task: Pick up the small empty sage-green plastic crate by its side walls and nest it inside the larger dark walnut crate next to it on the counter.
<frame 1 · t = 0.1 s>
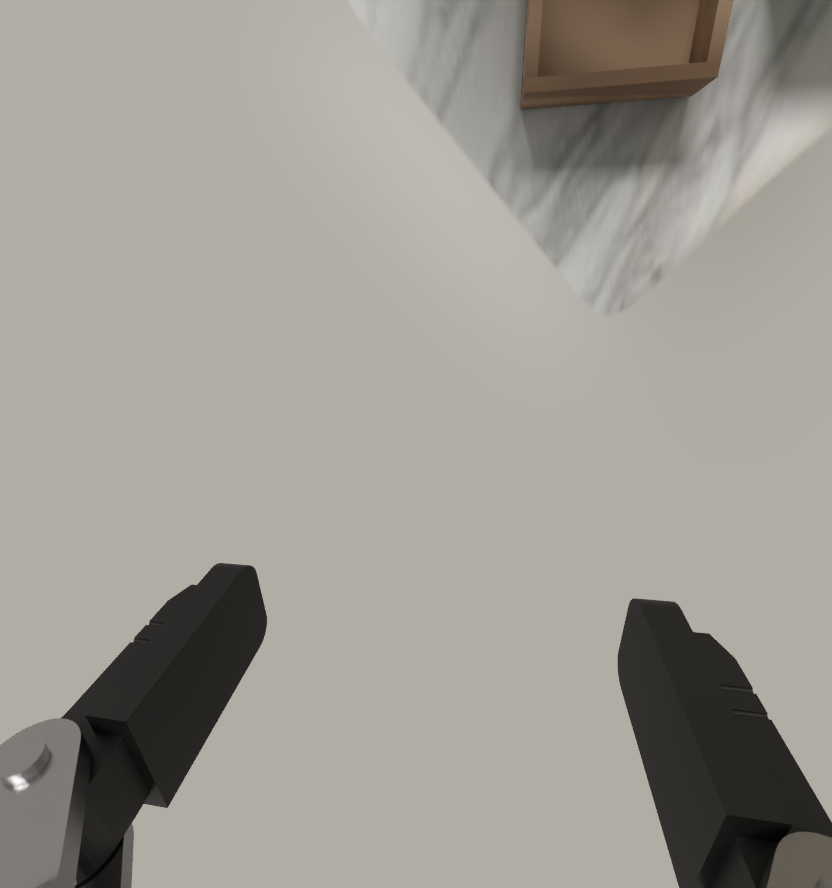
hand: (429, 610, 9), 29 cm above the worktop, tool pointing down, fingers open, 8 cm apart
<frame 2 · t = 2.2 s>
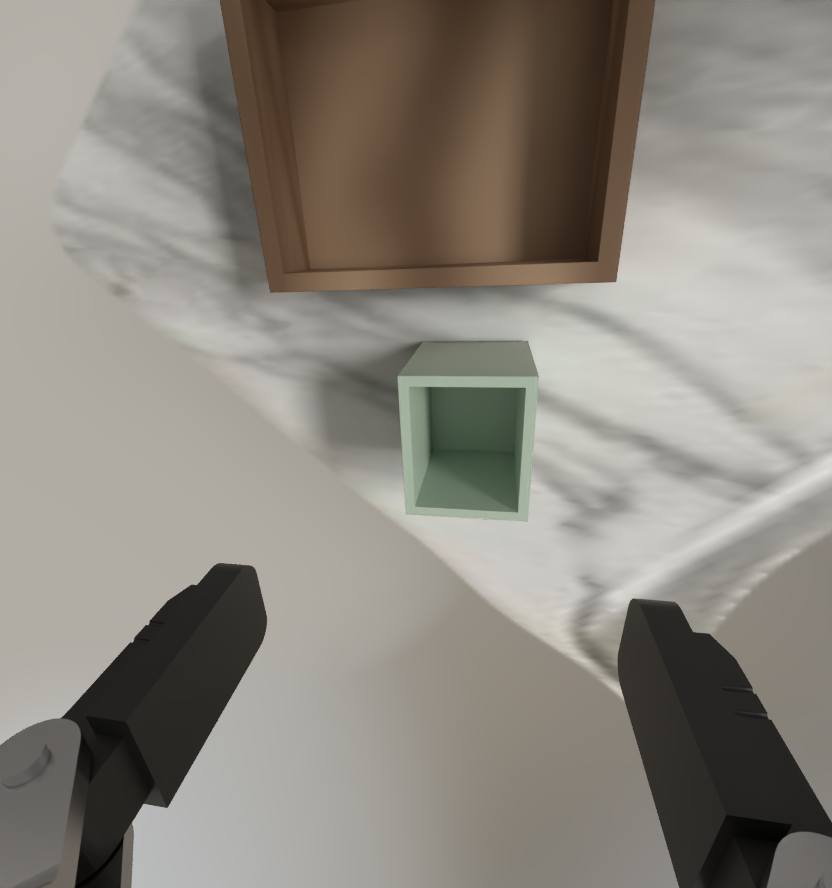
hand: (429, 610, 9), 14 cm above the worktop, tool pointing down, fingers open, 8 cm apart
big crate: (439, 144, 18), on the worktop
small crate: (473, 401, 22), on the worktop
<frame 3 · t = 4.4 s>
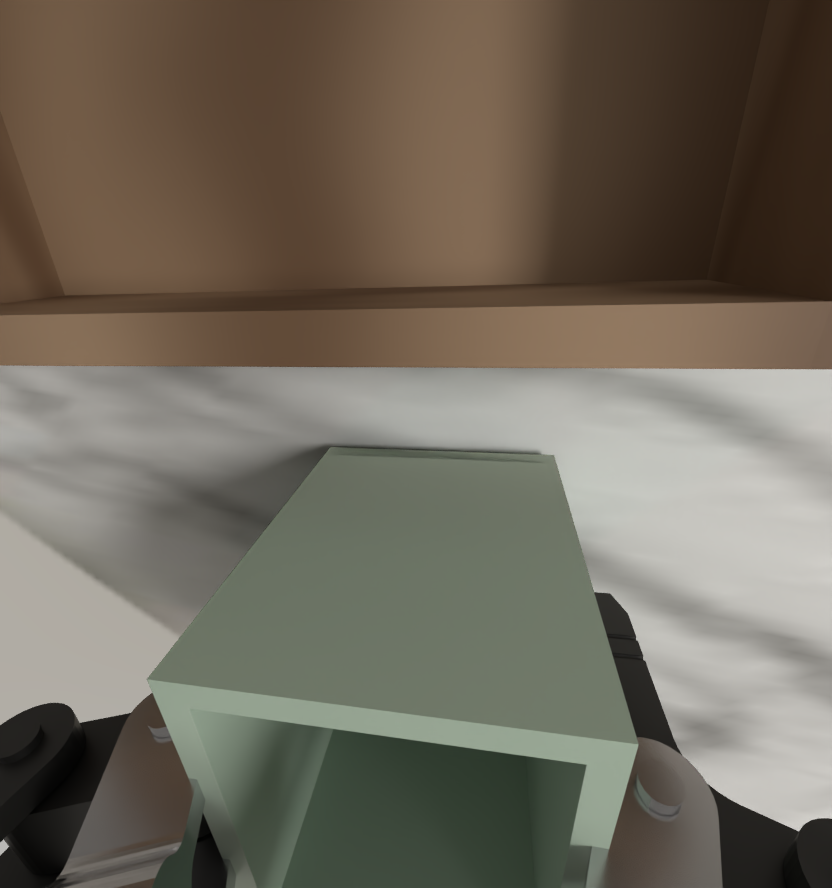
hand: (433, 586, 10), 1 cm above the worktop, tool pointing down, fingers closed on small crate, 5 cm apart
small crate: (439, 558, 11), on the worktop, touching gripper
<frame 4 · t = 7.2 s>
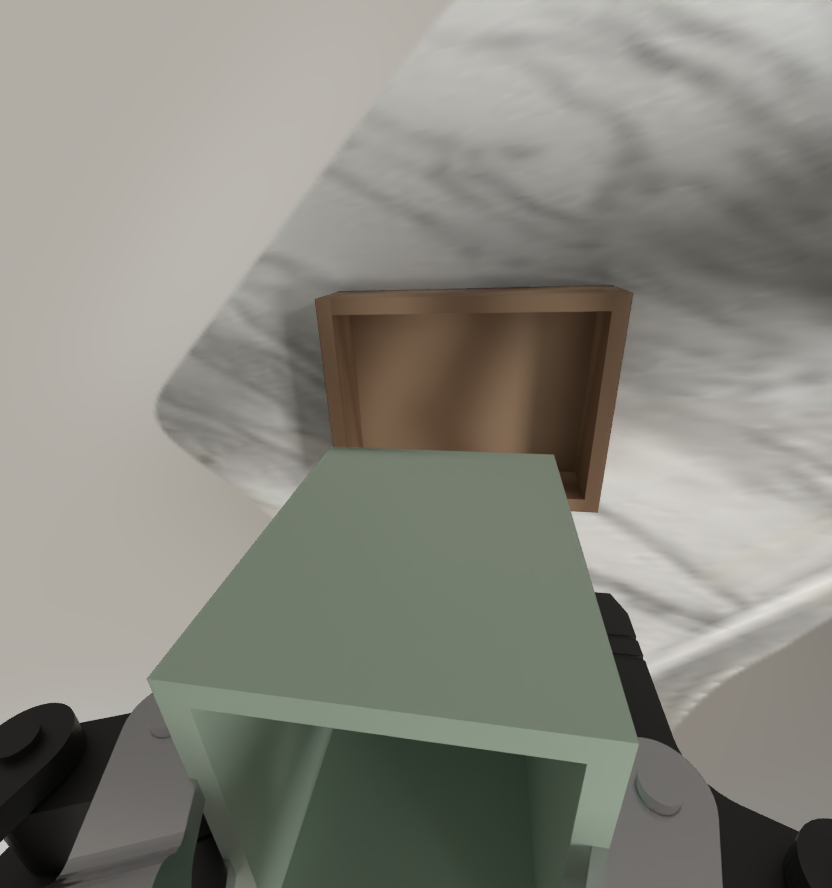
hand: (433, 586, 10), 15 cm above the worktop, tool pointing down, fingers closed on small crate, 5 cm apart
big crate: (467, 389, 24), on the worktop
small crate: (439, 558, 11), point 14 cm above the worktop, touching gripper
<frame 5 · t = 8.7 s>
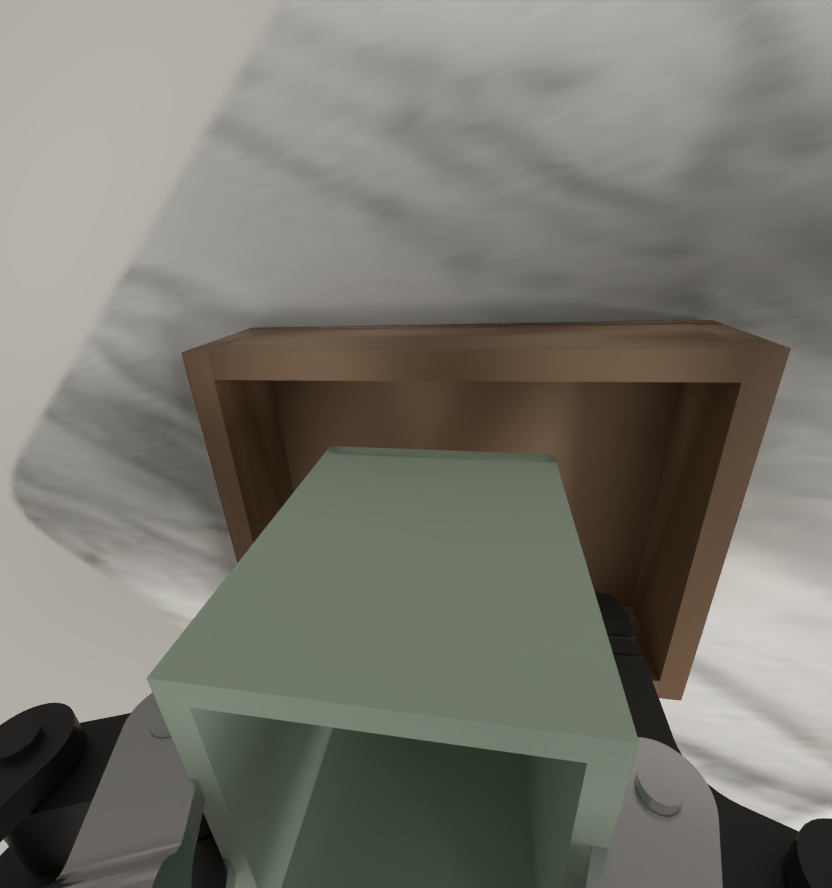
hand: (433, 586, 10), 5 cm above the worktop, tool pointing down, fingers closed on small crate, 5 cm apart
big crate: (461, 479, 15), on the worktop
small crate: (439, 557, 11), point 4 cm above the worktop, touching gripper
when the fingers open (3 cm above the worktop, at t = 10.1 s): small crate drops 1 cm, resting on big crate.
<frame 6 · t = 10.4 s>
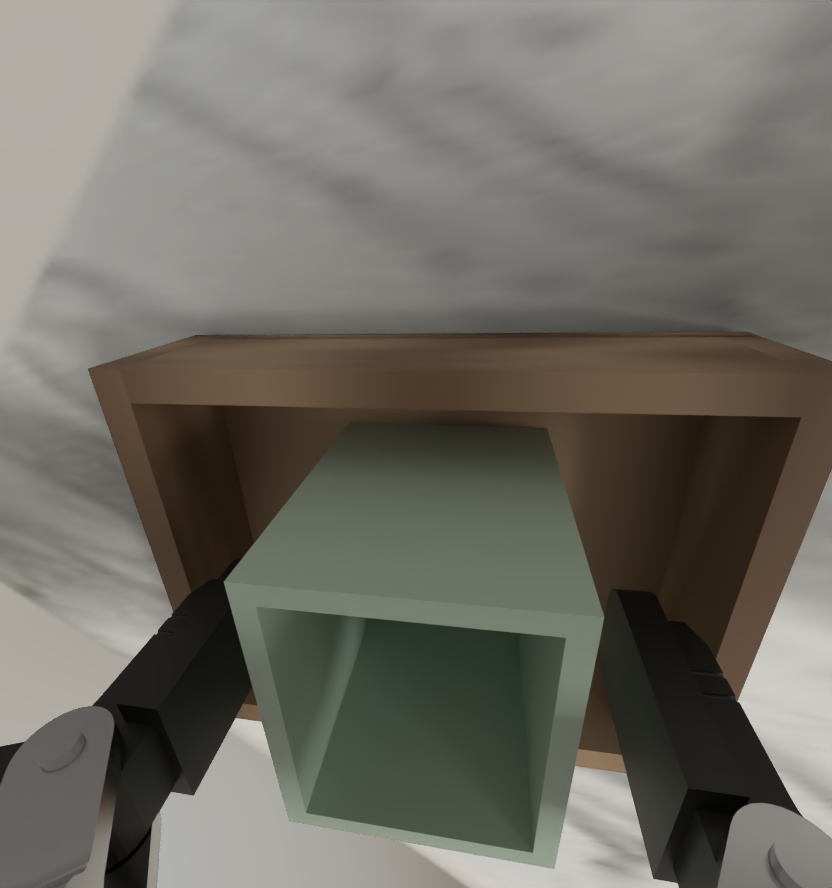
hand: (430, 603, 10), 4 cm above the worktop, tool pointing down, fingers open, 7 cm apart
big crate: (445, 512, 13), on the worktop
small crate: (445, 523, 12), point 1 cm above the worktop, touching big crate
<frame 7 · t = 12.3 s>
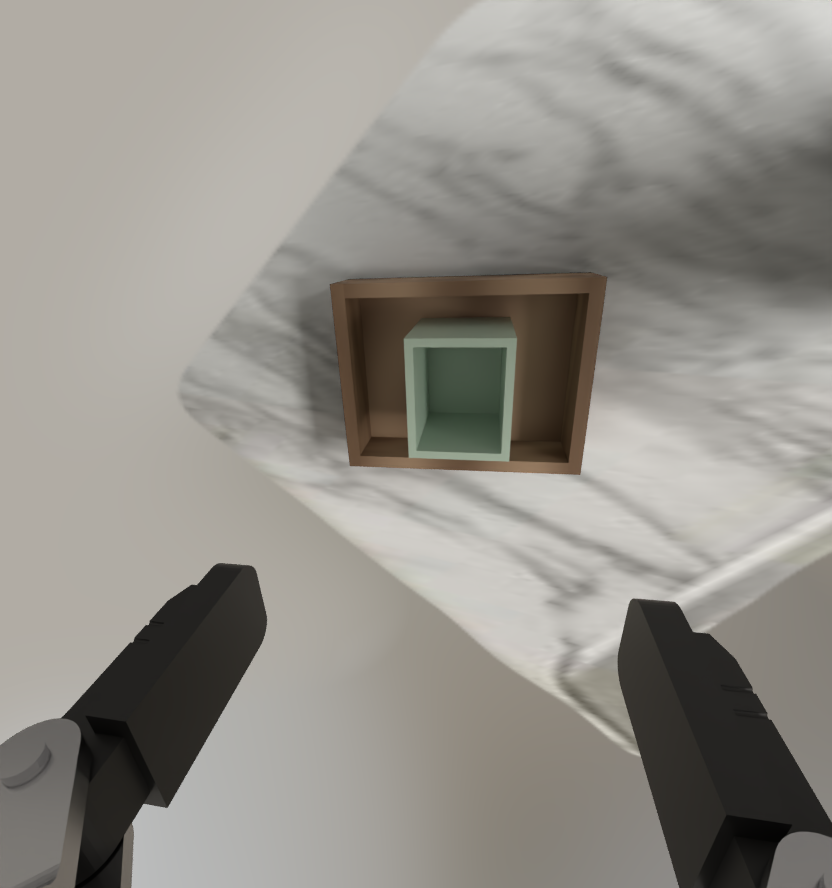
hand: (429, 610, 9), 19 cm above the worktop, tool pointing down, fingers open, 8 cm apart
big crate: (464, 367, 26), on the worktop
small crate: (464, 369, 26), point 1 cm above the worktop, touching big crate
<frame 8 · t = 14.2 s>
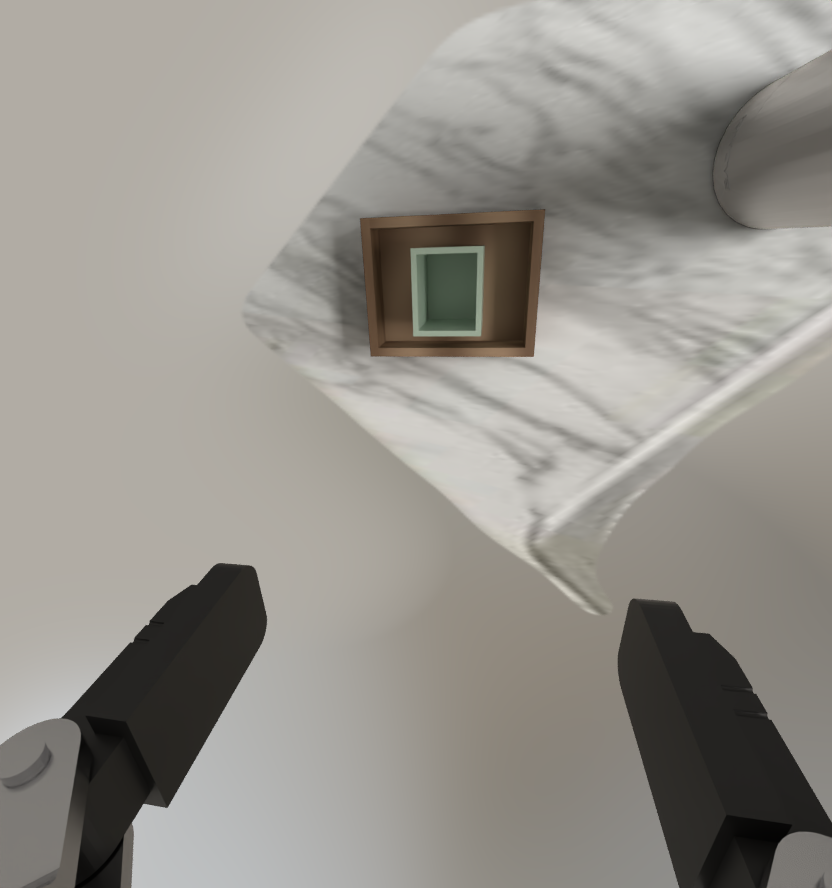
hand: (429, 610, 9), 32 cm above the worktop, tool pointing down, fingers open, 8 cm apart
big crate: (453, 285, 37), on the worktop
small crate: (453, 286, 36), point 1 cm above the worktop, touching big crate
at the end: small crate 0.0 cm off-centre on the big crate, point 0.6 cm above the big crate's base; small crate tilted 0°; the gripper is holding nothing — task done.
